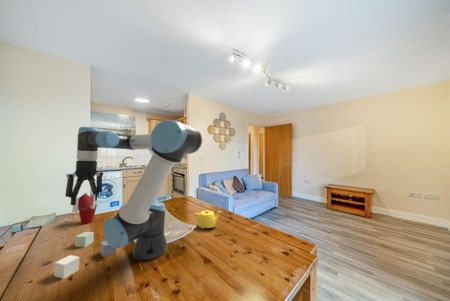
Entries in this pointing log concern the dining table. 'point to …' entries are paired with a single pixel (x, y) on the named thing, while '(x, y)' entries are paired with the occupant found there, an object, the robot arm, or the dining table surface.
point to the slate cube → (106, 249)
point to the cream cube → (66, 266)
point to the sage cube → (84, 239)
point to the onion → (84, 202)
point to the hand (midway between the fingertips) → (83, 209)
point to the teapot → (207, 219)
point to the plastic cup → (87, 215)
